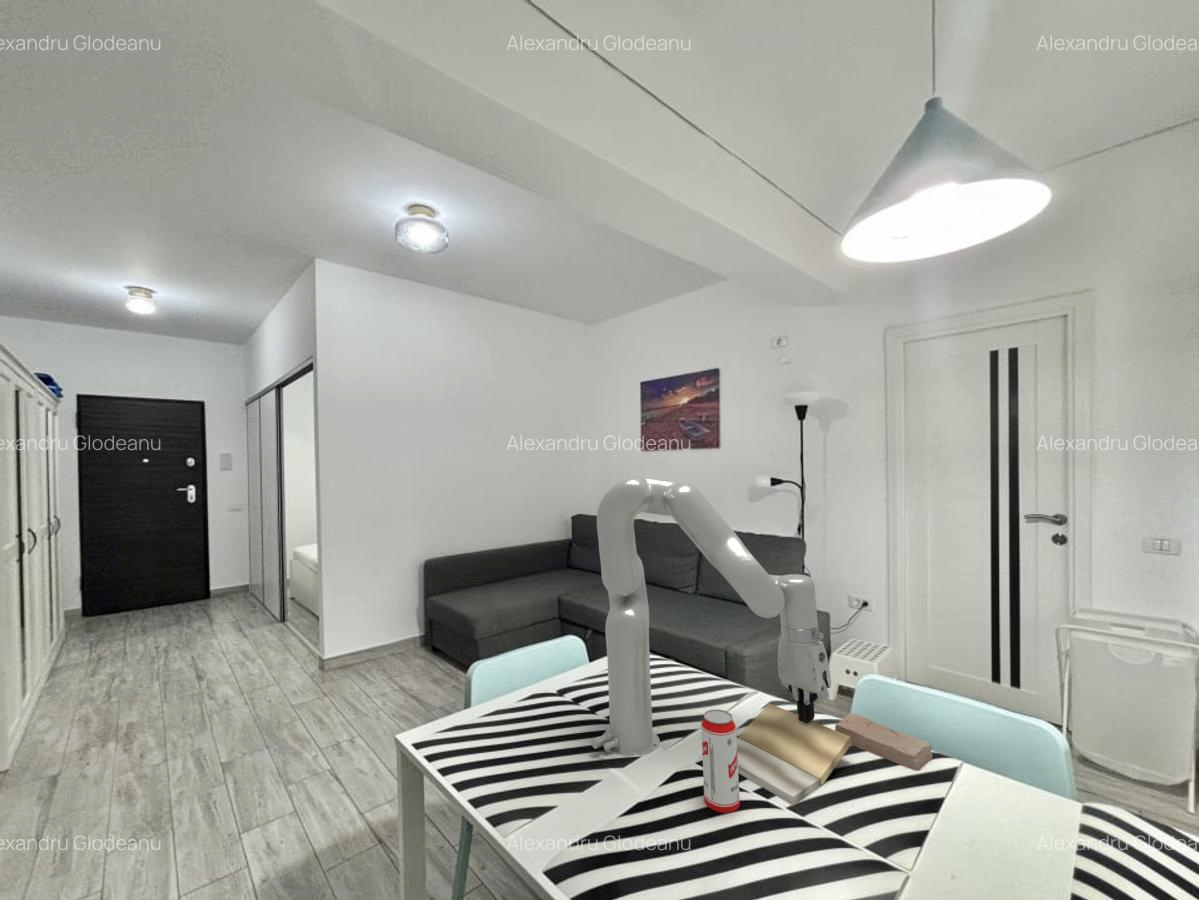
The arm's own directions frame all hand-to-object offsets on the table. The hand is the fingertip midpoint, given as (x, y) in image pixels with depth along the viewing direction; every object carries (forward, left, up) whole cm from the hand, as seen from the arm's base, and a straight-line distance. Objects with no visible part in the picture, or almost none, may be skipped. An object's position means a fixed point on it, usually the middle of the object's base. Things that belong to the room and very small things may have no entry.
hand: (806, 720), depth 106 cm
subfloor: (-8, 0, -7) cm, 10 cm away
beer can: (-28, -1, -7) cm, 29 cm away
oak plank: (-4, 0, -3) cm, 6 cm away
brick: (+12, -10, -7) cm, 17 cm away
